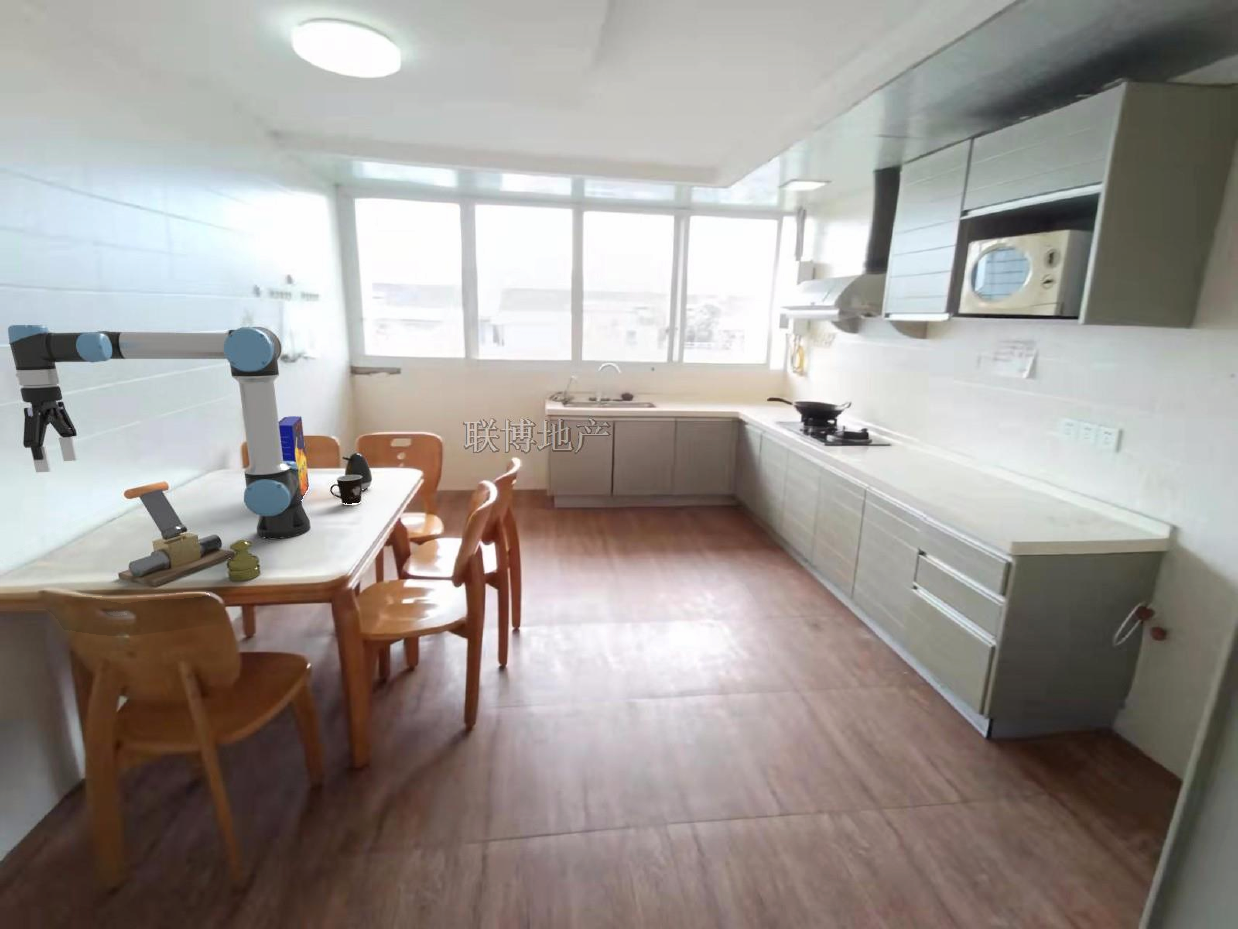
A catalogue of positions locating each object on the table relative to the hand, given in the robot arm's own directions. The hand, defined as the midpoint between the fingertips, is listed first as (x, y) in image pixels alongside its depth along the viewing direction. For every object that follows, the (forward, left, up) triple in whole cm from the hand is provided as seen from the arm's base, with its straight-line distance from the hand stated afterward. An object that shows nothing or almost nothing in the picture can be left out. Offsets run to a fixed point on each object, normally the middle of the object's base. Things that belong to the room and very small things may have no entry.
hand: (57, 466), depth 160 cm
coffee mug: (-66, -39, -28) cm, 82 cm away
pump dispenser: (-69, -59, -28) cm, 95 cm away
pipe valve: (-27, +11, -28) cm, 40 cm away
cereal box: (-47, -54, -28) cm, 77 cm away
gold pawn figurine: (-45, +23, -28) cm, 58 cm away
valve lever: (-27, +12, -19) cm, 35 cm away
